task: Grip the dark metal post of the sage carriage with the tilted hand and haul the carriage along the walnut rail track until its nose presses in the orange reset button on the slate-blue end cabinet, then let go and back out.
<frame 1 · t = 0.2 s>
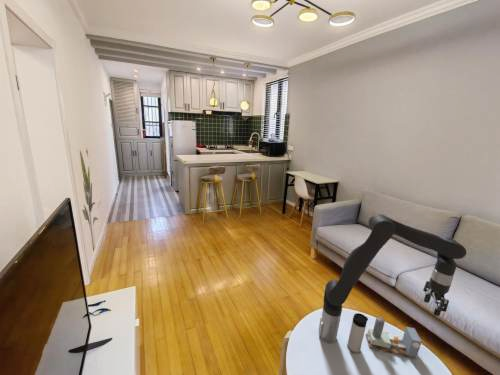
hand: (430, 308, 114), 29 cm above the table, tool pointing down, fingers open, 8 cm apart
end cabinet: (408, 350, 123), resting on track
carriage: (380, 330, 124), point 9 cm above the table, slide at 0.0 cm
travel mug: (353, 348, 123), on the table
reset button: (398, 340, 123), point 5 cm above the table, slide at 2.0 cm
track: (389, 346, 125), on the table
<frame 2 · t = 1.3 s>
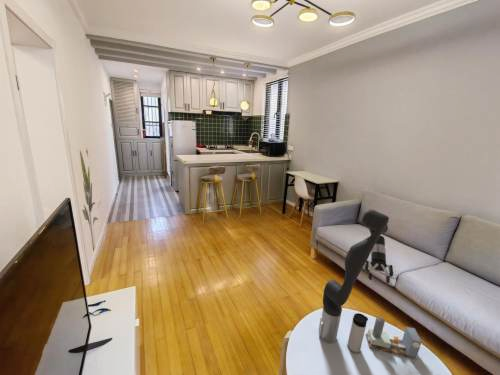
hand: (378, 281, 132), 29 cm above the table, tool tilted 45°, fingers open, 8 cm apart
nothing on the table moved.
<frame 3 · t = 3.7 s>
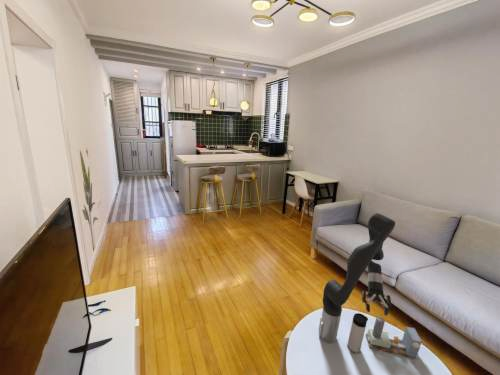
hand: (377, 313, 127), 15 cm above the table, tool tilted 45°, fingers open, 8 cm apart
nothing on the table moved.
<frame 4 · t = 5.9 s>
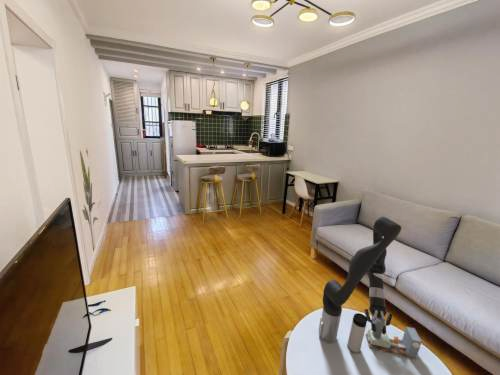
hand: (379, 332, 122), 9 cm above the table, tool tilted 45°, fingers closed on carriage, 4 cm apart
carriage: (380, 330, 124), point 9 cm above the table, slide at 0.0 cm, touching gripper
everything else where it was.
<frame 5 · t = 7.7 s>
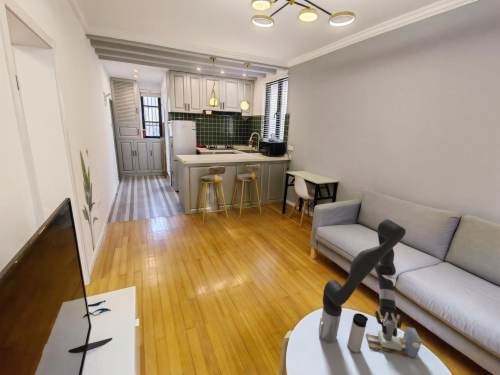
hand: (389, 335, 121), 9 cm above the table, tool tilted 45°, fingers closed on carriage, 4 cm apart
carriage: (391, 332, 123), point 9 cm above the table, slide at 5.2 cm, touching gripper, reset button
reset button: (402, 341, 122), point 5 cm above the table, slide at 0.0 cm, touching carriage
everything else where it was.
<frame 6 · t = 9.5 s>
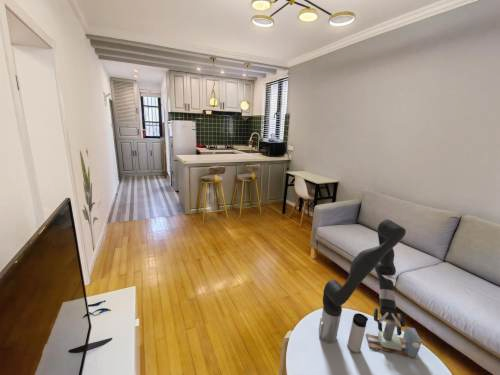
hand: (389, 333, 121), 10 cm above the table, tool tilted 45°, fingers open, 8 cm apart
carriage: (391, 332, 123), point 9 cm above the table, slide at 5.2 cm, touching reset button
everything else where it was.
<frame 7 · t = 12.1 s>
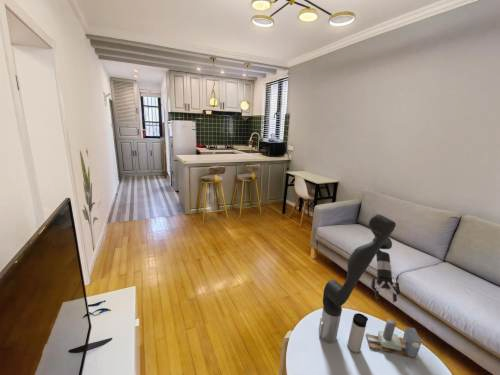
hand: (386, 300, 131), 20 cm above the table, tool tilted 45°, fingers open, 8 cm apart
nothing on the table moved.
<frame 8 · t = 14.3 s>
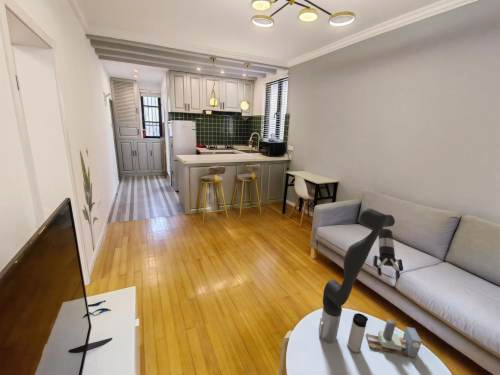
hand: (388, 277, 126), 35 cm above the table, tool tilted 45°, fingers open, 8 cm apart
nothing on the table moved.
at the end: reset button slide at 0.0 cm; carriage slide at 5.2 cm; the gripper is holding nothing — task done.
